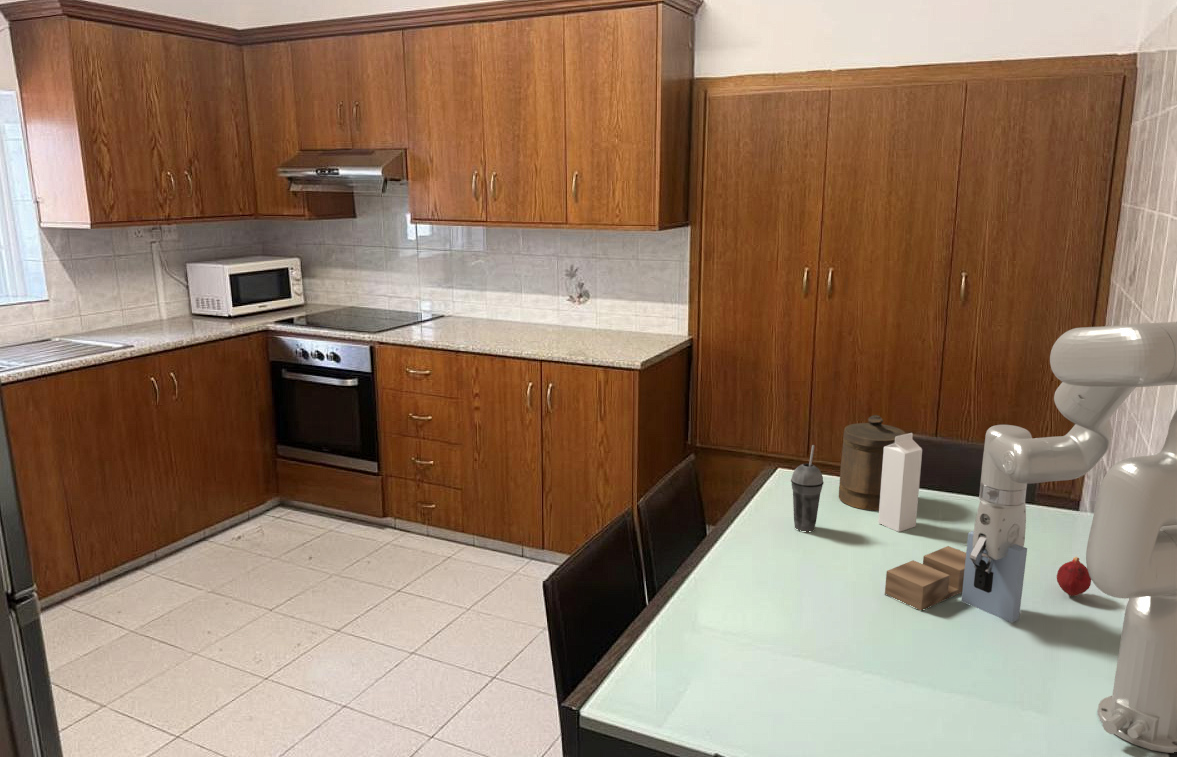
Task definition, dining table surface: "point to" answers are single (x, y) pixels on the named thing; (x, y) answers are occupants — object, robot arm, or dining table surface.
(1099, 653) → the dining table surface
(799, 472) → the beverage cup
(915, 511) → the milk
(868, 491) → the wooden container
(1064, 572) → the red pomegranate
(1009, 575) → the grey block
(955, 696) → the dining table surface
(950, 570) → the slotted base
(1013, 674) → the dining table surface
